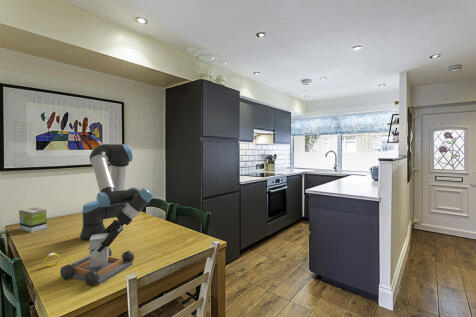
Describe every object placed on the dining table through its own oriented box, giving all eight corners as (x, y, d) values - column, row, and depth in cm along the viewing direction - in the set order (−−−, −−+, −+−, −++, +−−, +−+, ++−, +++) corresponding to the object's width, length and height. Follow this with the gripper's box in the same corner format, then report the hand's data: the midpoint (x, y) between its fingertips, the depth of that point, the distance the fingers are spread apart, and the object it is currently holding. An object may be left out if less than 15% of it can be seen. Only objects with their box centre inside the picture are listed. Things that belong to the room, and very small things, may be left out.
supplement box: (89, 266, 107) (88, 239, 106) (92, 259, 114) (91, 234, 113) (107, 263, 110) (107, 237, 109) (109, 256, 117) (108, 232, 116)
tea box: (19, 230, 168) (18, 210, 167) (35, 226, 177) (35, 207, 177) (31, 233, 162) (30, 212, 162) (47, 228, 172) (47, 208, 171)
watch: (45, 268, 114) (43, 257, 113) (45, 266, 116) (43, 255, 115) (60, 263, 118) (59, 252, 117) (59, 262, 120) (58, 251, 119)
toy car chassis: (59, 278, 105) (59, 265, 105) (102, 256, 126) (102, 246, 126) (95, 287, 98) (95, 273, 98) (134, 263, 119) (134, 251, 119)
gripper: (138, 224, 112) (100, 266, 103) (128, 214, 129) (95, 250, 120) (125, 215, 108) (86, 258, 99) (118, 206, 125) (83, 242, 116)
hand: (91, 253), depth 110 cm, fingers closed on supplement box, 8 cm apart
